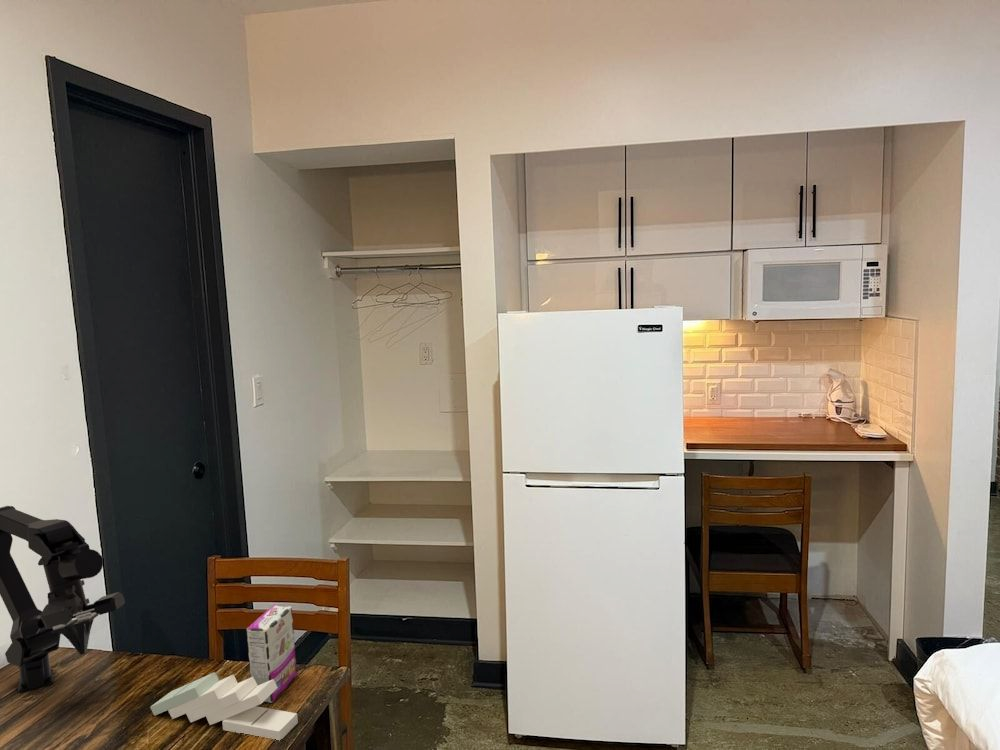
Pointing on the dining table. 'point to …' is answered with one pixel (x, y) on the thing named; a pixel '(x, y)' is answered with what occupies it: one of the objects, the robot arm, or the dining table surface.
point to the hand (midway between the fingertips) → (83, 653)
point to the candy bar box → (272, 649)
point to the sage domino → (184, 694)
